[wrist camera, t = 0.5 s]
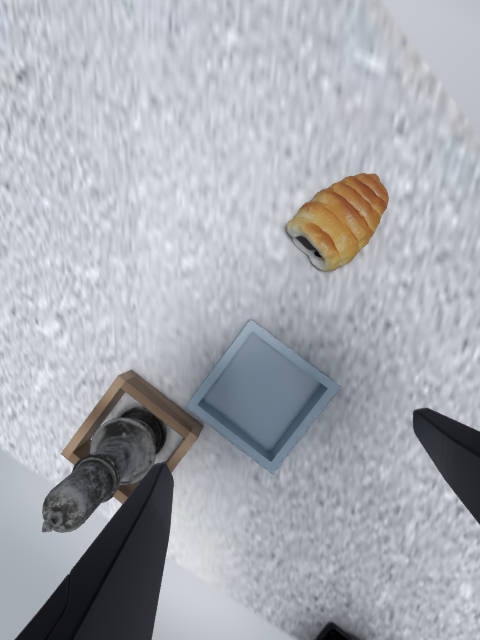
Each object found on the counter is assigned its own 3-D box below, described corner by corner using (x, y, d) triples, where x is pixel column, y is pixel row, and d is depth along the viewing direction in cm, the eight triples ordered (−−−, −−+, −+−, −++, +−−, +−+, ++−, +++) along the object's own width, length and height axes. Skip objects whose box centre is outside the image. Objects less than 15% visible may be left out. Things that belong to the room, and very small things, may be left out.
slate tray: (271, 461, 25) (272, 474, 23) (191, 399, 26) (185, 406, 23) (332, 380, 25) (340, 386, 23) (250, 319, 25) (250, 319, 23)
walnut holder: (149, 497, 26) (137, 516, 23) (79, 441, 26) (60, 453, 24) (203, 426, 25) (197, 437, 23) (131, 370, 26) (118, 375, 23)
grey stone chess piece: (141, 474, 26) (44, 608, 14) (100, 433, 26) (-30, 530, 14) (180, 433, 26) (116, 532, 14) (139, 392, 26) (40, 455, 14)
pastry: (348, 165, 25) (366, 138, 21) (397, 214, 25) (423, 195, 21) (279, 233, 25) (284, 218, 21) (326, 281, 25) (340, 275, 21)
